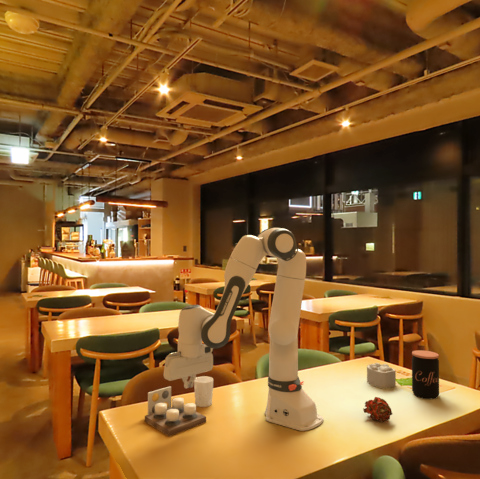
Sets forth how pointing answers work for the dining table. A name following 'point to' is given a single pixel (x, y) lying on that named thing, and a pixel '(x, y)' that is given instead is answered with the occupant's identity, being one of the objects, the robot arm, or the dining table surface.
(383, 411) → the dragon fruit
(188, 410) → the button
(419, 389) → the coffee jar
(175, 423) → the board
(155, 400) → the card
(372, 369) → the grey toy brick
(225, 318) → the robot arm
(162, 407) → the button
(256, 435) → the dining table surface
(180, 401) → the button
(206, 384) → the white cup
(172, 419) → the button
